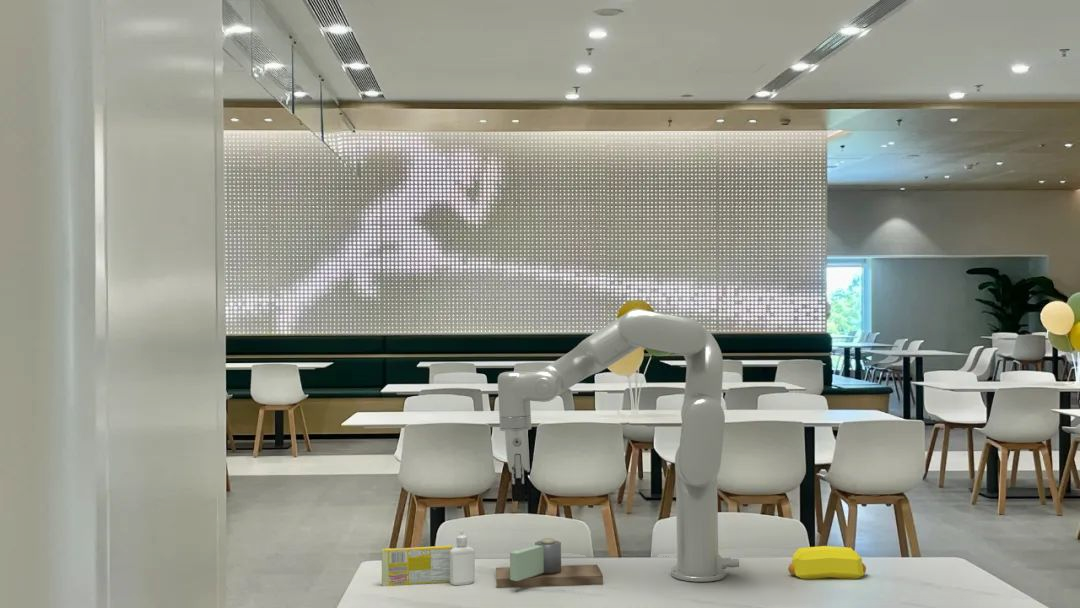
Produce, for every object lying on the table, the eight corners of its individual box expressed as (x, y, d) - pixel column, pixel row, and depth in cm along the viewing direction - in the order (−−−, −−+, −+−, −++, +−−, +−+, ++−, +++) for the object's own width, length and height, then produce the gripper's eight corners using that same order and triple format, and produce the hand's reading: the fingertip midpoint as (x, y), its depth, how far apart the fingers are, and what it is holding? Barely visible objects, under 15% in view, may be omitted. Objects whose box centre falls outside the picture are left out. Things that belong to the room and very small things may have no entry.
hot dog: (871, 580, 216) (861, 572, 224) (871, 551, 217) (860, 543, 224) (792, 581, 217) (784, 572, 225) (791, 551, 217) (783, 544, 225)
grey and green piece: (546, 565, 224) (546, 535, 224) (566, 569, 220) (566, 539, 220) (503, 579, 213) (503, 547, 213) (523, 583, 209) (523, 551, 209)
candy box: (452, 580, 221) (452, 544, 221) (453, 583, 219) (452, 547, 219) (382, 584, 219) (381, 547, 219) (381, 586, 217) (381, 550, 217)
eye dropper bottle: (472, 586, 216) (471, 532, 216) (448, 585, 217) (447, 532, 217) (476, 580, 220) (475, 528, 221) (452, 580, 221) (451, 528, 221)
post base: (597, 572, 226) (597, 563, 226) (602, 584, 216) (602, 574, 216) (496, 576, 224) (495, 566, 224) (496, 587, 214) (496, 577, 214)
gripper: (532, 425, 220) (536, 505, 220) (529, 419, 235) (532, 494, 234) (500, 427, 220) (504, 507, 219) (499, 421, 234) (502, 496, 234)
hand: (518, 500), depth 227 cm, fingers closed
